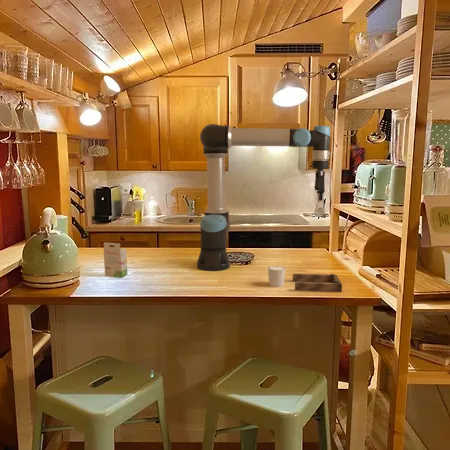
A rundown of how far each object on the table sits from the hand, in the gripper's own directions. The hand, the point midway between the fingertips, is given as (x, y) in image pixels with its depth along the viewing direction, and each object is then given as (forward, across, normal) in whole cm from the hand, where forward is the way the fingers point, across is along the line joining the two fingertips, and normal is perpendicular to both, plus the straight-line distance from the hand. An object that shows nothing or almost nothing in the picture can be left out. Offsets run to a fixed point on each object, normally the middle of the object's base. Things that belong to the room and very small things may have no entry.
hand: (318, 205), depth 200 cm
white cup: (+28, -38, +19) cm, 51 cm away
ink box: (+28, -33, +88) cm, 98 cm away
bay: (+28, -38, +4) cm, 47 cm away
